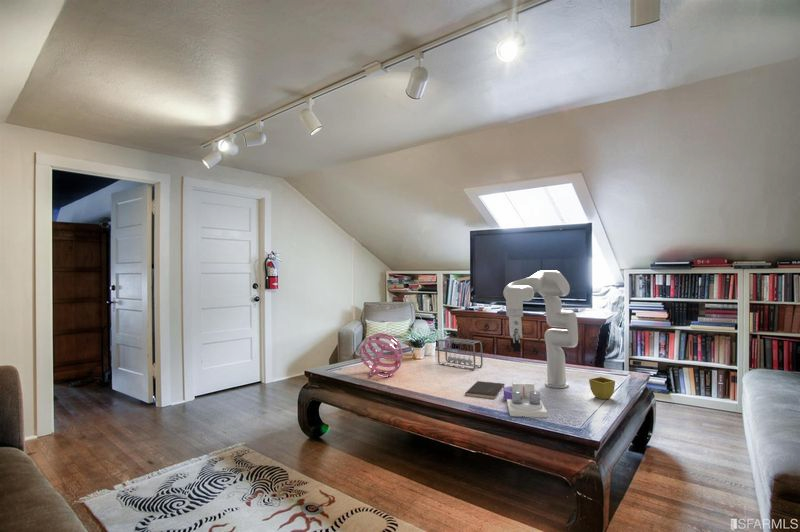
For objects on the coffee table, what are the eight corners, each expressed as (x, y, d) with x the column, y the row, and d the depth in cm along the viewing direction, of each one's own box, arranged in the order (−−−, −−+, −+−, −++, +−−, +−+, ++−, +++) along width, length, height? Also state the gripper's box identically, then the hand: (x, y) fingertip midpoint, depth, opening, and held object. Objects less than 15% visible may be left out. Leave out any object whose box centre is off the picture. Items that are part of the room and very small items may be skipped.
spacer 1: (511, 401, 192) (511, 390, 192) (521, 401, 191) (521, 390, 191) (512, 404, 187) (512, 393, 187) (523, 404, 186) (522, 393, 187)
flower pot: (603, 401, 198) (603, 383, 198) (588, 396, 206) (588, 378, 206) (616, 398, 202) (615, 380, 202) (601, 394, 210) (600, 376, 210)
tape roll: (507, 403, 199) (507, 393, 199) (500, 396, 211) (500, 386, 211) (531, 402, 200) (531, 392, 200) (522, 395, 212) (522, 385, 212)
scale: (506, 402, 200) (506, 382, 200) (540, 403, 197) (539, 383, 197) (510, 416, 182) (509, 393, 182) (547, 417, 179) (546, 394, 179)
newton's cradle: (483, 367, 272) (482, 341, 273) (474, 370, 265) (474, 343, 265) (446, 361, 292) (445, 337, 292) (437, 364, 284) (437, 339, 285)
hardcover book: (504, 387, 227) (504, 383, 227) (495, 400, 206) (495, 395, 206) (476, 384, 234) (476, 380, 234) (465, 396, 213) (465, 392, 213)
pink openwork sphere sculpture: (381, 351, 235) (394, 320, 256) (344, 359, 248) (359, 329, 270) (403, 384, 246) (414, 351, 267) (367, 389, 259) (380, 358, 281)
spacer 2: (529, 401, 190) (528, 391, 190) (539, 402, 190) (539, 391, 190) (530, 404, 186) (530, 394, 186) (541, 405, 185) (540, 394, 185)
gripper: (525, 315, 180) (526, 353, 180) (520, 311, 197) (521, 346, 197) (508, 315, 182) (509, 353, 181) (504, 311, 199) (505, 346, 198)
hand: (515, 349), depth 189 cm, fingers open, 9 cm apart
